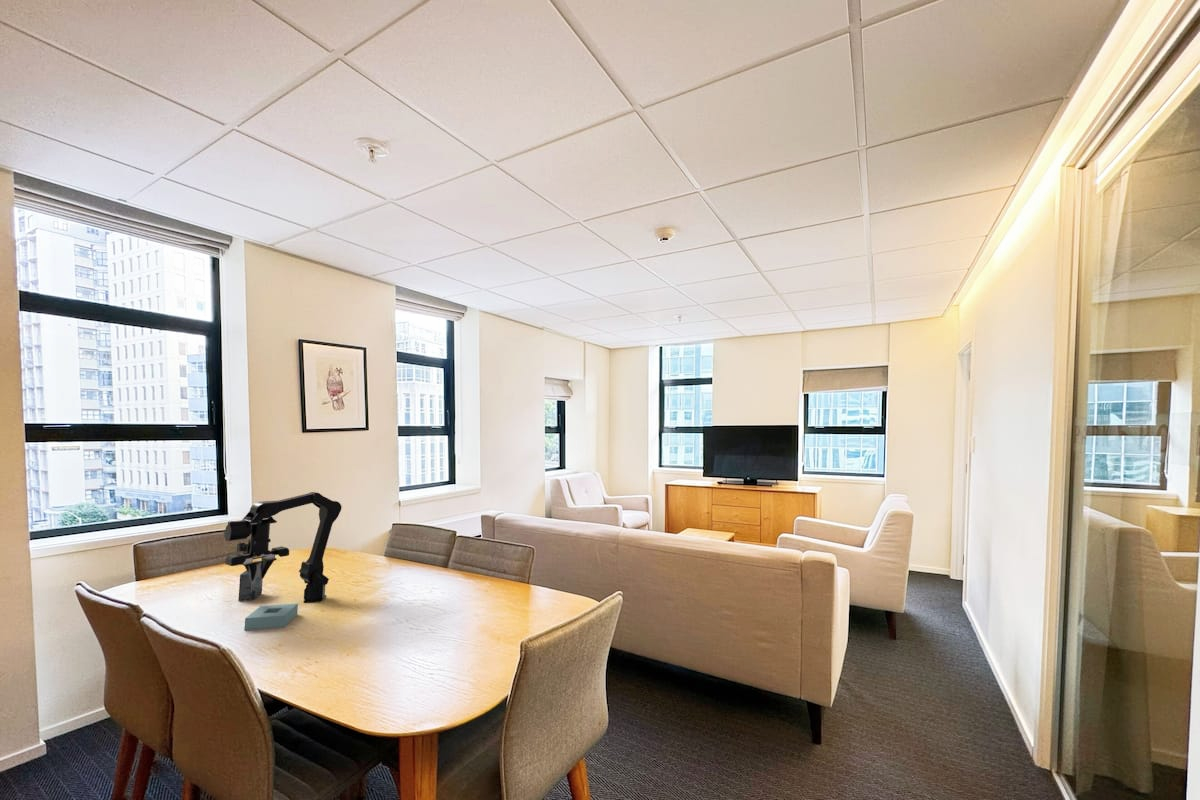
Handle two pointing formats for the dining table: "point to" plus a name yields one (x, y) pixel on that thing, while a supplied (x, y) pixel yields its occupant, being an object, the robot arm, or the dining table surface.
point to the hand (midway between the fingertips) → (256, 579)
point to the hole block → (271, 616)
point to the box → (247, 588)
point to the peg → (257, 576)
